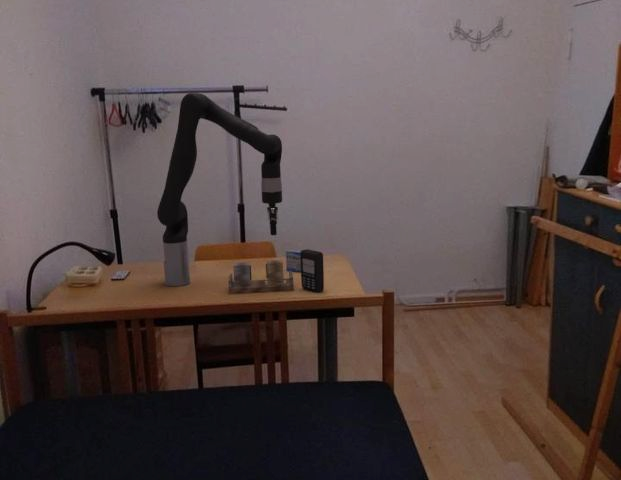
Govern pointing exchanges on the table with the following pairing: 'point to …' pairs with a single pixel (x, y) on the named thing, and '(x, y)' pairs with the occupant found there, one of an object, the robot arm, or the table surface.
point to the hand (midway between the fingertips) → (273, 232)
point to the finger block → (274, 272)
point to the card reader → (312, 270)
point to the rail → (254, 281)
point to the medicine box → (293, 260)
